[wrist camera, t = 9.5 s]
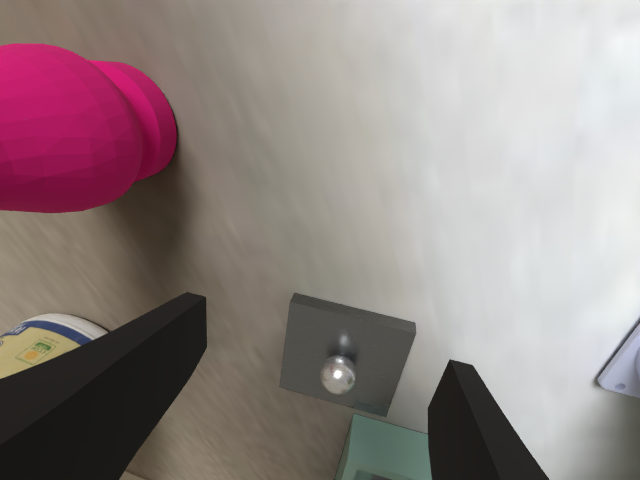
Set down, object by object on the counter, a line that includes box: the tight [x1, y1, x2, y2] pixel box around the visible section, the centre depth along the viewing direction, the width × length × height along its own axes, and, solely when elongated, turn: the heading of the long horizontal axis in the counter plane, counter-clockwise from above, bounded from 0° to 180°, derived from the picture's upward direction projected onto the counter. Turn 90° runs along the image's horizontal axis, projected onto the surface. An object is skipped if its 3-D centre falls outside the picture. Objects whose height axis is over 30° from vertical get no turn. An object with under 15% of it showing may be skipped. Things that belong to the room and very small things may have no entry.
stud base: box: [279, 293, 416, 417], centre depth 22 cm, size 8×8×3 cm
